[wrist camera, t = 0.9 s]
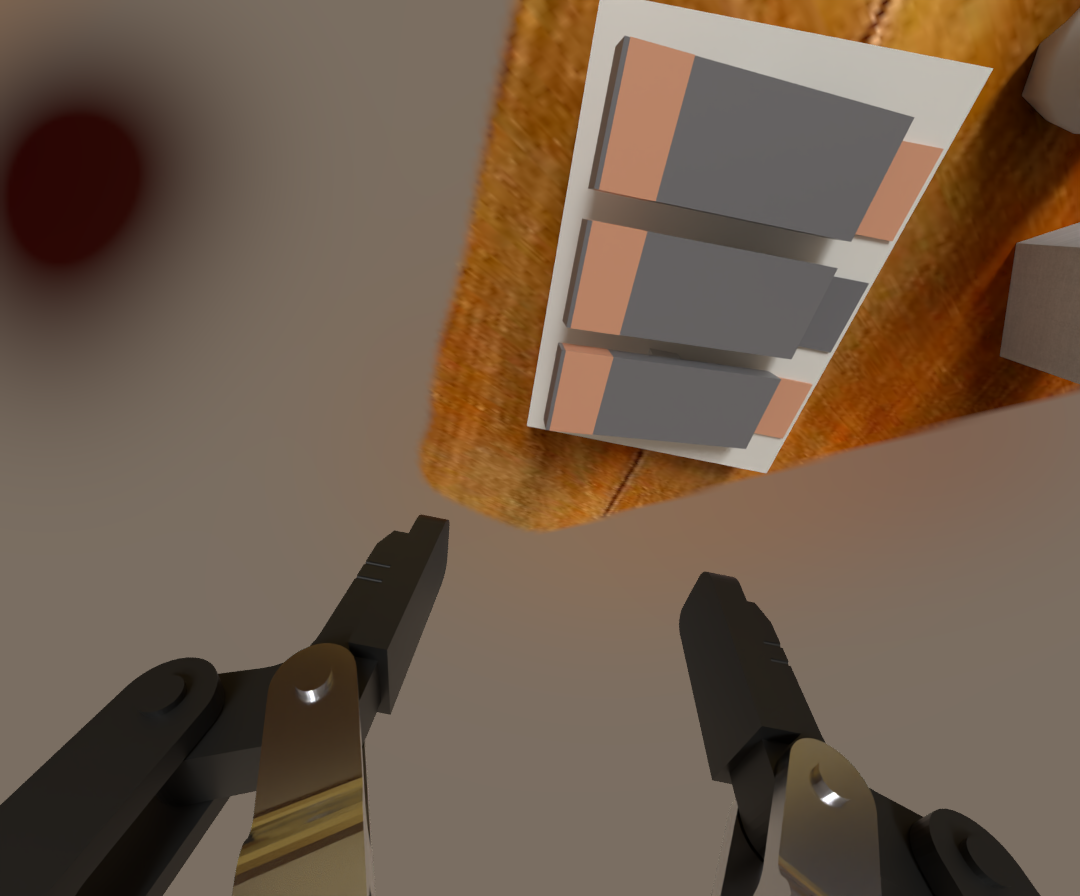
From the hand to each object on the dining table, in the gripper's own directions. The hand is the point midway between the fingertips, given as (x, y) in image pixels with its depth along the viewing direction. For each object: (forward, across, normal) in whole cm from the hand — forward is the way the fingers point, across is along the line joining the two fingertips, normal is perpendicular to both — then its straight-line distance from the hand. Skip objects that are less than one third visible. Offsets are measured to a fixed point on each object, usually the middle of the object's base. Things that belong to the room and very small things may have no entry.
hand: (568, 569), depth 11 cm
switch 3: (+13, -4, 0) cm, 14 cm away
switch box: (+20, -6, -6) cm, 21 cm away
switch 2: (+13, -4, -6) cm, 15 cm away
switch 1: (+13, -4, -11) cm, 18 cm away
